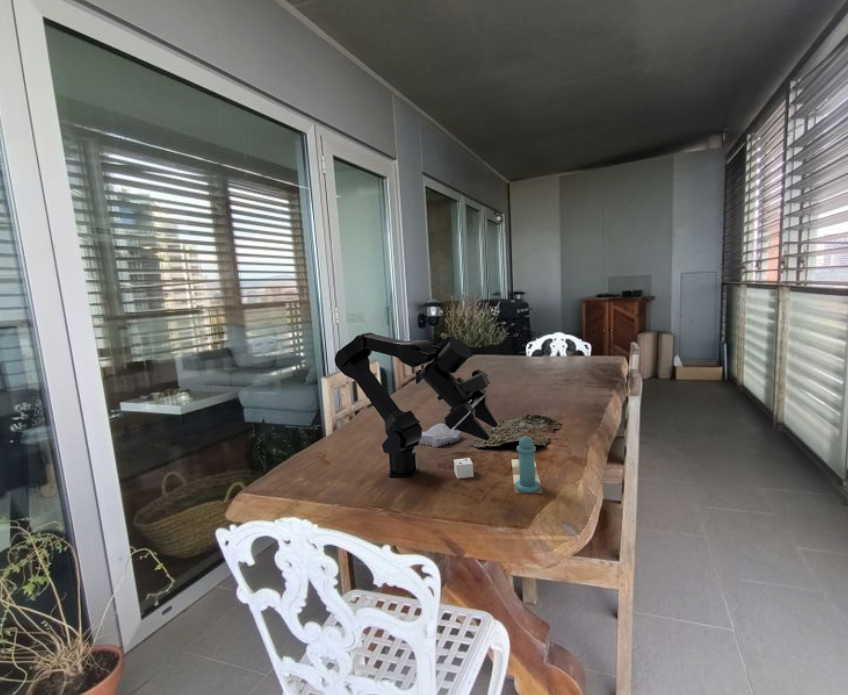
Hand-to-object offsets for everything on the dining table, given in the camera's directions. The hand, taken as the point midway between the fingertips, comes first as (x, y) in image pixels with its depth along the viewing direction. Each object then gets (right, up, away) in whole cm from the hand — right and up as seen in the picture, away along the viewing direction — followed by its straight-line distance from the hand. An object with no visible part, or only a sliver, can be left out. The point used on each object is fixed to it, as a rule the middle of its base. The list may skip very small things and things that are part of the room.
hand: (492, 432), depth 107 cm
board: (+9, -12, +6) cm, 16 cm away
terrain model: (+12, -8, +38) cm, 41 cm away
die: (-6, -13, +9) cm, 16 cm away
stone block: (-10, -10, +37) cm, 39 cm away
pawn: (+8, -12, -1) cm, 15 cm away
